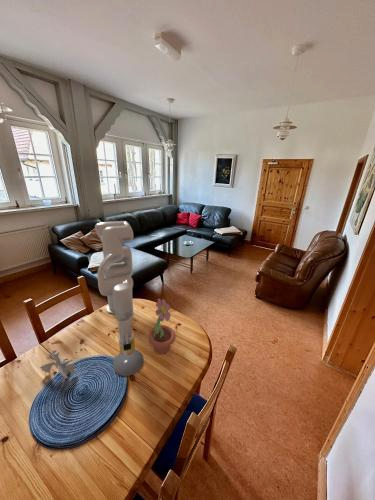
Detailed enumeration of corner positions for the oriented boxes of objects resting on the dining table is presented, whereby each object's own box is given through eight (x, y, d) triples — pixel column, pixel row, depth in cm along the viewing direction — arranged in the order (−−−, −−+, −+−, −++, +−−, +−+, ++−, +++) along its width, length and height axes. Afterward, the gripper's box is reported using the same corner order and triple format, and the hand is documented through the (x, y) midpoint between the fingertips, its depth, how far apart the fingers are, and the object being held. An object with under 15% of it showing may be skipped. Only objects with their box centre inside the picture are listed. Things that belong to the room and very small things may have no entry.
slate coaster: (112, 354, 103) (112, 353, 102) (141, 347, 107) (141, 346, 107) (113, 380, 90) (113, 378, 90) (145, 371, 95) (145, 369, 95)
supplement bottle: (136, 346, 98) (135, 325, 94) (132, 358, 92) (130, 336, 88) (123, 344, 99) (121, 323, 94) (117, 356, 93) (115, 334, 88)
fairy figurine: (71, 391, 83) (47, 371, 77) (48, 384, 92) (25, 366, 86) (88, 367, 90) (67, 347, 84) (65, 362, 99) (45, 345, 93)
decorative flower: (170, 364, 99) (171, 314, 88) (143, 358, 101) (141, 309, 90) (177, 340, 113) (179, 294, 101) (154, 335, 115) (153, 290, 104)
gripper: (114, 301, 93) (117, 331, 100) (115, 327, 78) (119, 361, 85) (131, 298, 96) (133, 328, 103) (135, 323, 81) (137, 356, 87)
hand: (126, 342), depth 94 cm, fingers closed on supplement bottle, 6 cm apart
